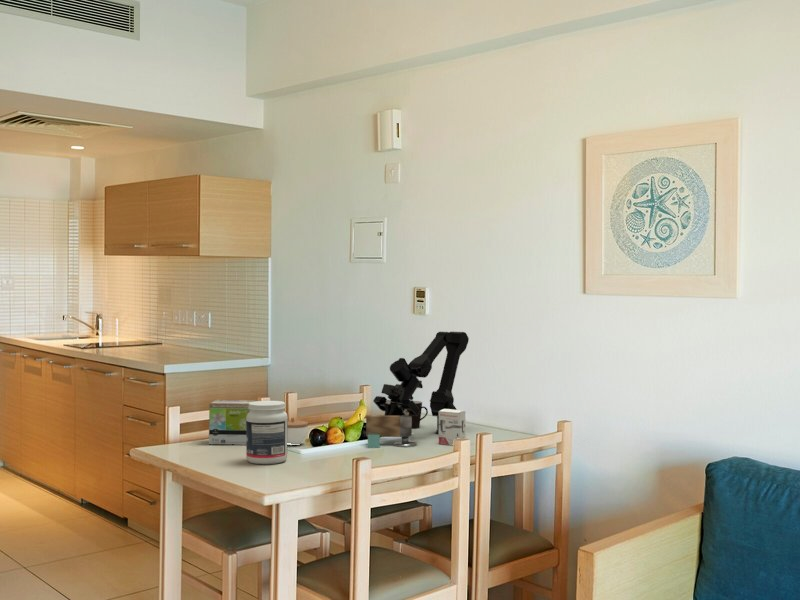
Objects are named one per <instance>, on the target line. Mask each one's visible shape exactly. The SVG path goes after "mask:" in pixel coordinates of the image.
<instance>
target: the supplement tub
mask: <svg viewBox="0 0 800 600" xmlns="http://www.w3.org/2000/svg"><path fill="white" fill-rule="evenodd" d="M248 409H249V410H250V412H249V413H248V414H247V416H246V445H245V446H246V451H245V452H246V453H245V454H246V460H247V461H248V462H249V463H251V464H254V465H256V464H257V465H275V464H281V463H283V462H285V461H286V460H287V459H288V457H289V455H288V446H287V442H288V441H287V430H288V413H287V412H286V411H285V409H286V403H285V402H284V401H281V400H257V401H255V402H250V403H249V407H248Z"/></svg>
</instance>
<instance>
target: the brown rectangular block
mask: <svg viewBox="0 0 800 600" xmlns="http://www.w3.org/2000/svg"><path fill="white" fill-rule="evenodd" d="M365 420H366V421H365V423H366V424H365V425H366V426H365V429H366V430H365V432H366V433H365V436H366V437H367V438H368V433H380V437H381V438H382V437H383V438H402V437H409V438H410V437H412V435H413V432H412V431H413V429H412V416H408V415H402V416H394V415H385V414H384V415H383V414H381V415H379V414H378V415H377V414H367V415H366V417H365Z"/></svg>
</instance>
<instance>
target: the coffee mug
mask: <svg viewBox="0 0 800 600" xmlns="http://www.w3.org/2000/svg"><path fill="white" fill-rule="evenodd" d="M413 401H414V403H415V404H416V405H417V406H418V408H419V413H418V415H417V416H413V415H411V414H410V412H411V410H407V411H405V413H404V414H405V415H408V416H412V430H416V429H419V428H420V427H421V421H422V420H423V419H425V418H426V416H428V414H429V411H428V408H427V407H426V406H424V405H423V401H420V400H413ZM422 409H424V410H425V412H426V413H425V414H424V415H423V416H422ZM421 416H422V417H421Z"/></svg>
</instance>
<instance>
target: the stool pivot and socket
mask: <svg viewBox="0 0 800 600" xmlns="http://www.w3.org/2000/svg"><path fill="white" fill-rule="evenodd" d="M409 439H410V437H401V440H400V441H395V442H393V446H395V447H398V448H412V447H416V446H417V445H418V442H415V441H410V440H409ZM380 444H381V442H380V433H368V437H367V448H368V449H369V448H370V449H371V448H373V449H375V448H377V449H379V448H380Z"/></svg>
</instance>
